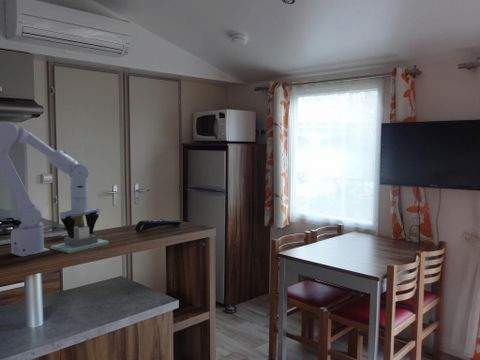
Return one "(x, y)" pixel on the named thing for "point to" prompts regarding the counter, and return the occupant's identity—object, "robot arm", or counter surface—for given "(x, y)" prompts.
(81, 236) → the plug
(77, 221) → the cork
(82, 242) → the socket
